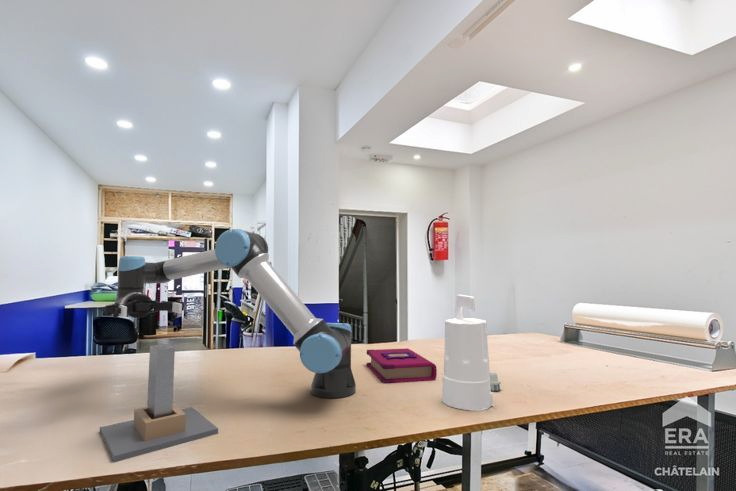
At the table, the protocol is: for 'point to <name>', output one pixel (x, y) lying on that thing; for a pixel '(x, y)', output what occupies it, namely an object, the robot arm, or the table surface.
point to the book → (400, 366)
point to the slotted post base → (137, 446)
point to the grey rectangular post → (160, 381)
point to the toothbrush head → (494, 381)
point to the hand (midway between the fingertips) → (154, 310)
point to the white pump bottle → (466, 360)
